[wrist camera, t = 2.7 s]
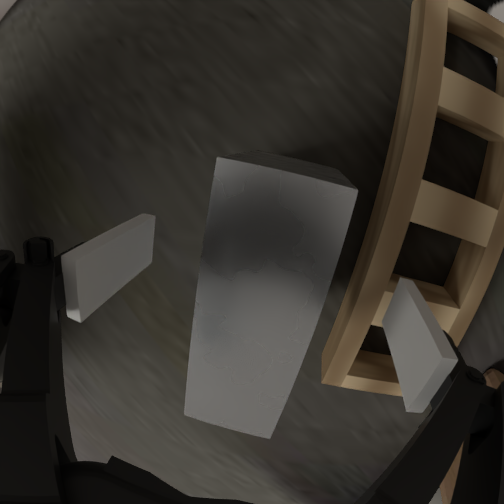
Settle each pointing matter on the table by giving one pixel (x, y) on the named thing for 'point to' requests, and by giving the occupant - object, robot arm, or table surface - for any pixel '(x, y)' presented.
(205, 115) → the table surface
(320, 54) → the table surface
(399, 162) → the rail
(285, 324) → the grey concrete brick
